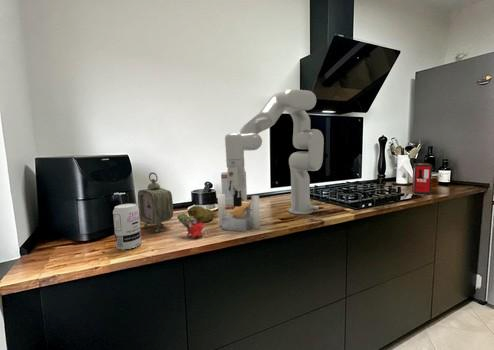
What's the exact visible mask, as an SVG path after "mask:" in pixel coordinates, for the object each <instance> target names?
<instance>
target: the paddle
mask: <svg viewBox="0 0 494 350" xmlns="http://www.w3.org/2000/svg"><path fill="white" fill-rule="evenodd" d="M247 206H250V207H252V201H247V202H243V201H242V206H240V207H235V208H234V209H233V208H232V210H231V211H230V213H231V215H239V216H242V215H243V214H244V213H245V211H246V210H247Z"/></svg>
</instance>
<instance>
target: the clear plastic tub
mask: <svg viewBox="0 0 494 350" xmlns="http://www.w3.org/2000/svg"><path fill="white" fill-rule="evenodd" d="M235 207H236V206H234V205H233V206H232V208H231V209H232V210H233V209H234V208H235ZM221 228H222V230H226V231H235V232H245V233H246V232H248V231H249V230H250V229H251V228H252V208H251V206H247V210H246V211H245V213H244V214H243V215H242V216H239V215H231V212H229V213H227V214H226V216H224V217H223V218H222V226H221Z"/></svg>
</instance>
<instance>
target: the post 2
mask: <svg viewBox="0 0 494 350" xmlns="http://www.w3.org/2000/svg"><path fill="white" fill-rule="evenodd" d="M251 209H252V227H251V228H252V230H254V231H255V230H260V229H261V226H260V225H261V224H260V222H261V220H260V195H251Z"/></svg>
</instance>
